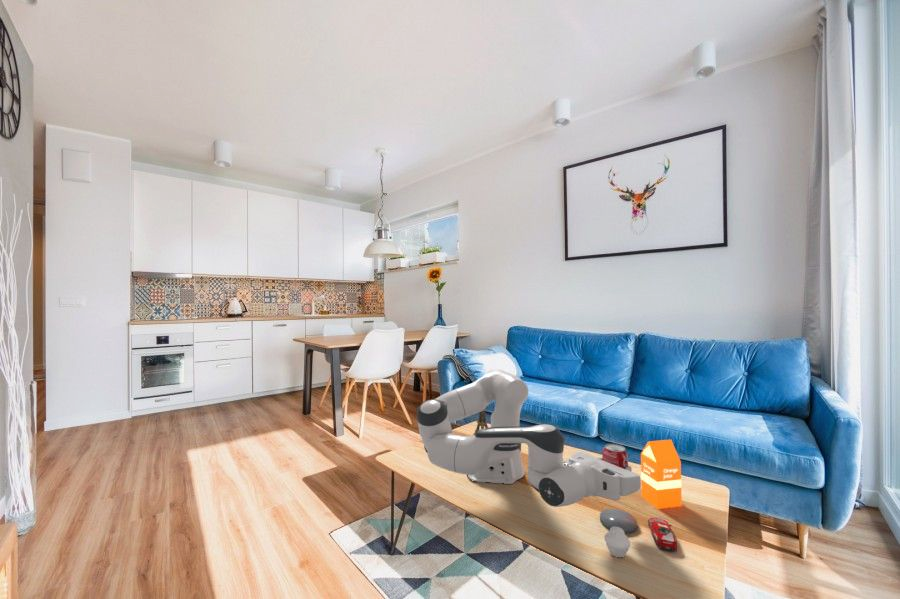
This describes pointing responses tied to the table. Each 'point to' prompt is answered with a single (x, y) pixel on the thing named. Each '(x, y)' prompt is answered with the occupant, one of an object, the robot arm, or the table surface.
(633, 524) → the grey rounded flat dome
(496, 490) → the table surface
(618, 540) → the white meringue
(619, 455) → the soda can
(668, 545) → the race car
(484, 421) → the eiffel tower
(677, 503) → the orange juice
